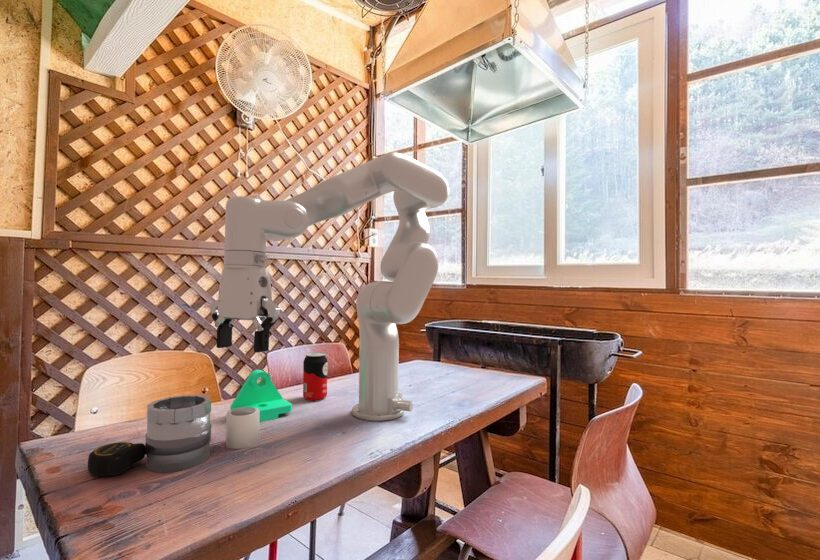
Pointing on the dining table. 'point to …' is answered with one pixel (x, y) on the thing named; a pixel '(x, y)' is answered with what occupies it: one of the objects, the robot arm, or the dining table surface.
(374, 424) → the dining table surface
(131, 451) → the tape measure
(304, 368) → the beverage can
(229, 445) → the cap
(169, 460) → the grey hollow cylinder
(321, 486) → the dining table surface
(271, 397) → the camera mount
